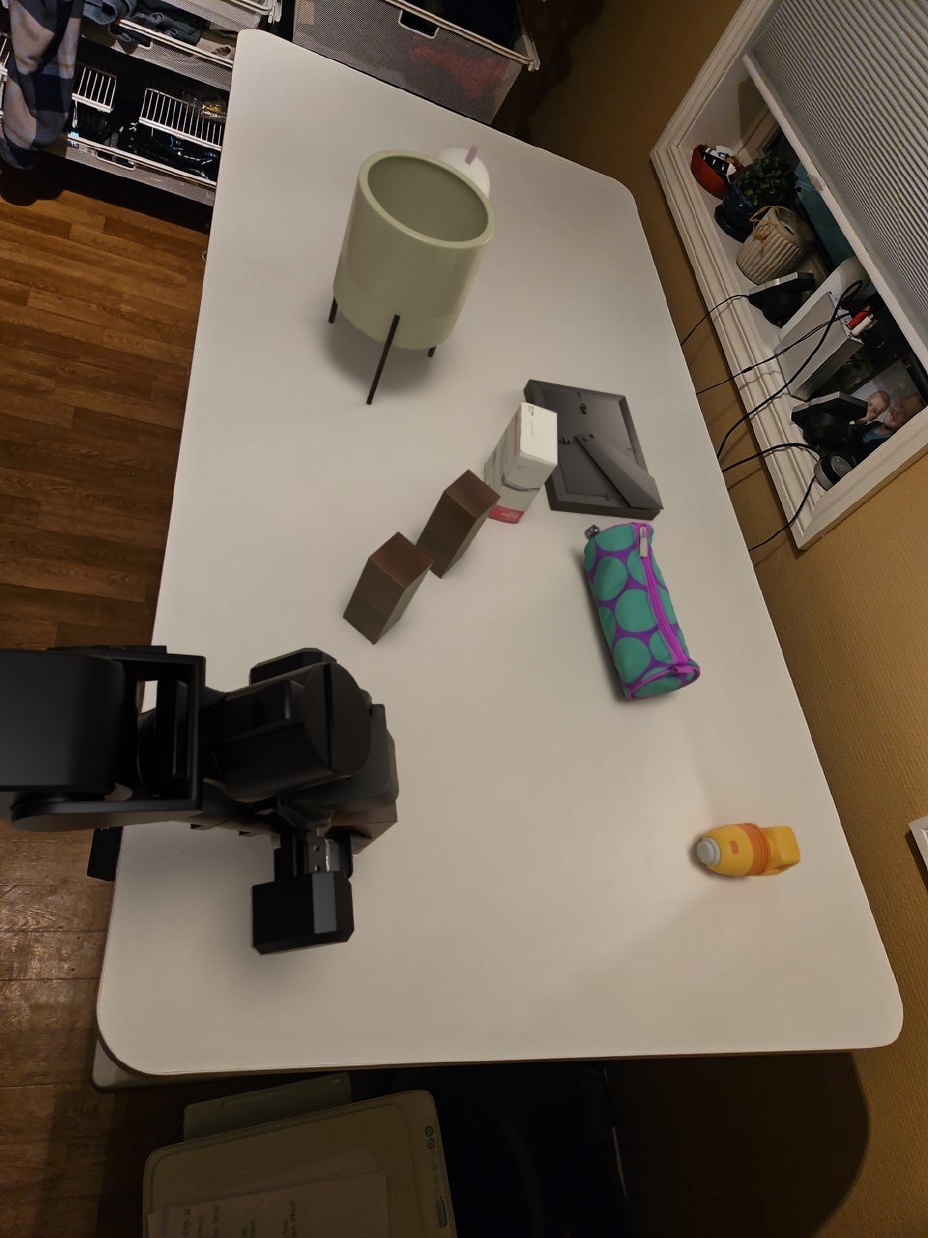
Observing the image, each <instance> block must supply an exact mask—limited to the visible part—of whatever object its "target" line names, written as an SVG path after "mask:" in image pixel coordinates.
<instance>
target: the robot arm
mask: <svg viewBox="0 0 928 1238" xmlns="http://www.w3.org/2000/svg"><path fill="white" fill-rule="evenodd" d="M206 675H207V657H205V656H204V655H200V654H199V655H198V654H187V653H172V652H171V653H170V652H168V646H167V645H166V644H159V645H158V644H157V645H156V644H71V645H70V644H69V645H65V646H63V645H62V646H56V647H54V646H53V647H47V648H45V649H32V648H20V647H19V648H18V647H5V646H4V647H2V646H1V647H0V820H5V821H6V820H7V821H10V823H9V826H10V827H11V828H12V829H15V830H18V831H23V832H30V833H65V832H67V833H69V832H76V831H78V832H79V831H88V830H96V829H97V830H98V829H107V828H118V827H126V826H136V825H137V826H138V825H147V824H155V823H166V822H177V823H183V824H190V826H189V827H190V828H189V830H193V831H194V830H195V831H200V832H201V831H202V832H203V831H207V830H211V829H217V828H218V829H222V830H223V829H224V830H231V831H238V836H239V837H246V838H252V837H255V836H259V835H265V836H270V846H271V847H274V848H273V880H271V881H267V882H262V883H258V884H257V883H256V884H253V885H251V887H250V889H249V892H250V893H249V899H250V902H249V904H250V905H249V907H250V913H249V915H250V917H249V918H250V948H251V949H252V950H254V951H255V952H256V953H257V954H258V955H259V956H274V955H281V954H286V953H293V952H298V951H304V950H310V949H316V948H321V947H327V946H333V945H338V944H339V945H340V944H344V943H348V942H349V940H350V938H351V937H352V935H353V934H354V932H355V918H354V917H355V916H354V903H353V902H354V901H353V900H354V899H353V886H352V884H351V882H350V880H349V879H351V878H352V876H353V874H354V870H355V869H354V868H355V867H354V855H353V853H354V852H356V851H357V850H359V849H361V848H363V847H365V846H366V845H368V844H370V843H371V844H372V843H373V842H372V837H370V836H367V835H364V834H356V835H351V831H349V832H345V833H340V834H336V835H332V836H328V837H322V836H321V835H320V829H319V828H322V827H327V826H329V818H331V816H332V814H342V813H349V812H355V811H361V810H368V809H379V808H385V807H388V806H390V805H392V804H393V803H394V802H395V801H396V802H397V800H398V798H399V795H400V783H399V777H398V767H397V756H396V743H395V739H394V738H393V736H392V734H391V733H390V730H388V727H387V715H386V714H387V713H386V705H385V704H384V703H373V698H372V696H371V694H370V692H368V690H366V689H363V688H361V687H360V685H359V684H358V683H357V681H356V679H355V678H354V677H353V675H352V674H351V673H350V672H349V670H347V668H346V667H344V666H342V665H341V664H340V663H338V660H337V659H336V658H335V657H333V656H332V655H331V654H330V653H327V652H325V651H323V650H321V649H319V648H318V647H301V648H298V649H295V650H293V651H289V652H287V653H285V654H281V655H279V656H278V655H277V656H275V657H272V658H269V659H267V660H263V661H260V662H258V663H256V664H255V665H254V666H253V667H251V668H250V670H249V673H248V685H246V686H243V687H240V688H237V689H234V690H231V691H226V692H225V691H222V690H217V689H215V688H212V687H210V686H207V685H206V682H207V681H206V680H207V679H206V677H207V676H206ZM143 682H156V692H155V693H156V694H155V706H154V707H153V708H150V709H147V710H146V711H143V712H140V713H139V704H140V691H141V689H140V688H141V686H140V684H139V683H143ZM371 844H370V845H371Z"/></svg>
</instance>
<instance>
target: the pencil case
mask: <svg viewBox="0 0 928 1238" xmlns="http://www.w3.org/2000/svg"><path fill="white" fill-rule="evenodd" d="M583 534H584V536H585V538H586V539H587V543H586V544H585V546H584V548H583V555H584V567H585V571H586V575H587V579H588V584H589V586H590V589H591V593H592V596H593V599H594V603H595V605H596V608H597V612H598V616H599V620H600V623H601V627H602V632H603V634H604V636H605V639H606V643H607V645H608V648H609V651H610V654H611V657H612V660H613V662H614V666H615V668H616V670H617V671H618V675H619V682H620V685H621V688H622V689H623V693H624V696H625V698H626V699H629V700H635V699H636V700H637V699H646V698H649V697H653V696H656V695H662V694H666V693H667V694H668V693H673V692H676V691H679V690H680V689H682V688H685V687H687V686H690V685H691V684H693V683H695V682H696V681H697V680H698V679H699V678H700V677H701V667H700V666H699V664H698V663H697V662H696V661H695V660H694V659H692V658H691V656H690V651H689V648H688V645H687V643H686V639H685V635H684V632H683V631H682V629H681V627H680V624H679V622H678V619H677V616H676V613H675V610H674V606H673V603H672V600H671V597H670V592H669V590H668V587H667V584H666V582H665V578H664V577H663V574H662V571H661V568H660V567H659V565H658V563H657V560H656V558H655V556H654V551H653V548H652V543H653V536H654V534H655V529H654V527H653V526H652V525H651V524H649V523H648V522H637V521H632V522H627V523H618V524H614V525H612V526H609V527H607V528H605V529H603V530H601V528H600V526H597V525H596V524H592V525H591V526H590V527H588V528H587V529H586V530H584V532H583Z"/></svg>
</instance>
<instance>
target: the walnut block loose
mask: <svg viewBox="0 0 928 1238" xmlns="http://www.w3.org/2000/svg"><path fill="white" fill-rule="evenodd" d="M396 802H397V800H396V801H395V802H394V803H393V804H392V805H390V806H388V807H385V808H379V809H368V810H361V811H355V812H349V813H342V814H332V816H331V818H329V826H327V827H322V828H319V829H320V835H321V836H322V837H328V836H332V835H336V834H340V833H345V832H349V831H351V835H356V834H364V835H367V836H370V837H372V843H373V842H375V841H376V840H377V839H379V837H381V836H382V835H383V834H384V833H386V832H387V831H388V830H389V829H390V828H392V827H393V826H394V825H395V824H397V823H398V821H399V820H398V809H397V803H396ZM372 843H370V844H368V845H366V846H365V847H363V848H361V849H359V850H357V851H356V852H354V853H353V856H354V855H359V854H360V853H361V852H363V851H364V850H365V849H366V848H368V847H369V846H370V845H371V844H372Z"/></svg>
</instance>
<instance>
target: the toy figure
mask: <svg viewBox="0 0 928 1238" xmlns="http://www.w3.org/2000/svg"><path fill="white" fill-rule="evenodd" d="M696 855H697V857H698V859H699V861H700V862H701V863H703V864H705V865H706V867H707V869H709V870H711V871H713V872H715V873H718V874H722V875H726V876H727V875H728V876H733V877H750V876H752V877H765V876H766V877H767V876H777V875H779V874H782V873H784V872H785V871H787V870H789V869H791V868H793V867H795V866H797V865H798V864H799V863H800V862H801V851H800V847H799V843H798V840H797V837H796V835H795V832H794V831H793V829H792V827H791V826H789V825H775V826H767V827H766V826H765V827H760V826H759V825H757V824H756V823H753V822H744V823H732V824H725V825H723V826H719V827H717V828H714V829H712V830H710V831H708V832H707V833H705V834H704V836H703V838H702V839H701V841H700V842H698V844H697V846H696Z"/></svg>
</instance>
